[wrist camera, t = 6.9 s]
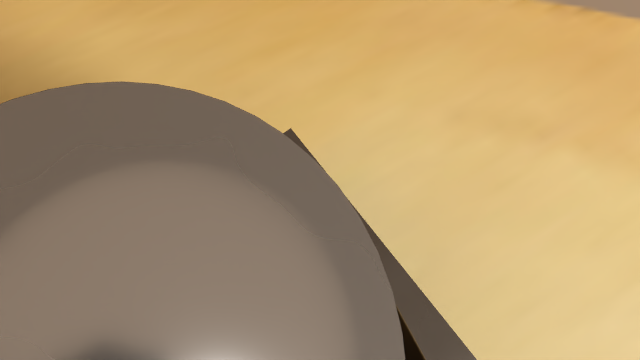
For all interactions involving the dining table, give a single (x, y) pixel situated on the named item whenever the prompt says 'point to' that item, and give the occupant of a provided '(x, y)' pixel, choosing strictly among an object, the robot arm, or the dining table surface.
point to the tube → (177, 236)
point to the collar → (413, 302)
